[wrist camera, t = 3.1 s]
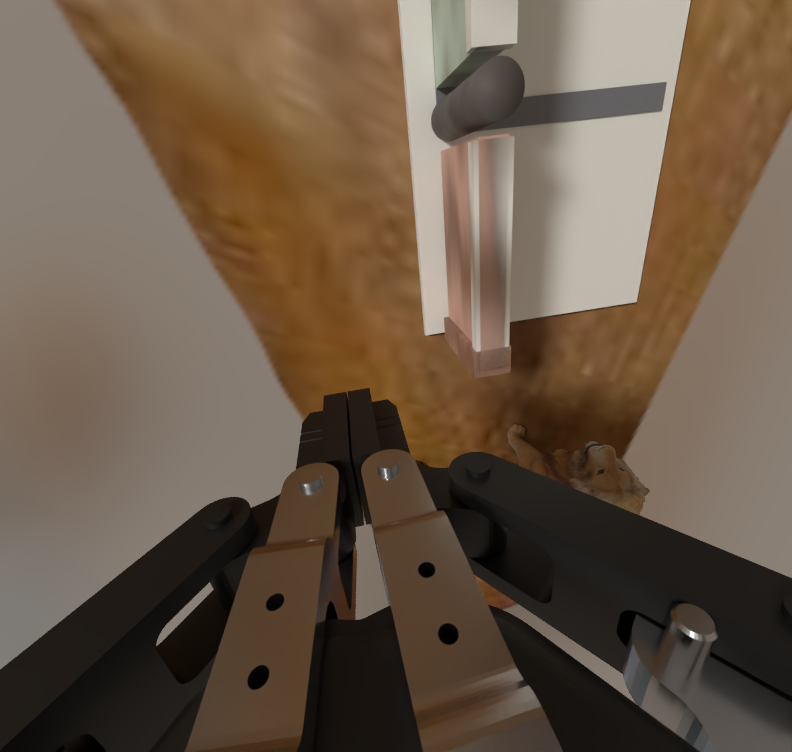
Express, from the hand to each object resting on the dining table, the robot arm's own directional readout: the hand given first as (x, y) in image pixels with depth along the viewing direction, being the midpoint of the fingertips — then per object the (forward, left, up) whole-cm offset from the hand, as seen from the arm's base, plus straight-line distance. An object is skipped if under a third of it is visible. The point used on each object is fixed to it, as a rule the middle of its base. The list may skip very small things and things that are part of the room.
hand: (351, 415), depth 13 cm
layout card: (-9, +12, -11) cm, 19 cm away
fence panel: (-3, +7, -10) cm, 13 cm away
